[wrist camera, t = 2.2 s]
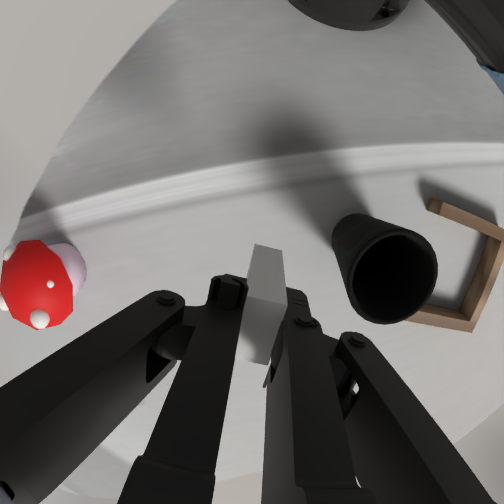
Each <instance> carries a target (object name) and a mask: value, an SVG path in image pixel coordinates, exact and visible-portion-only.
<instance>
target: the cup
mask: <svg viewBox="0 0 504 504" xmlns="http://www.w3.org/2000/svg"><path fill="white" fill-rule="evenodd" d="M332 246H333V249H334V252H335V255H336V259H337V262H338V265H339V268H340V271H341V275H342V278H343V281H344V285H345V288H346V291H347V295H348V298H349V300H350V303H351V306H352V307H353V308H354V310H355V311H356V312H357V314H359V315H360V316H361V317H362V318H364V319H365V320H367V321H370V322H372V323H375V324H384V325H386V324H394V323H398V322H400V321H403V320H406V319H407V318H409V317H411V316H412V315H414V314H415V313H416V312H418V311H419V310H420V309H421V308H422V307H423V306H424V305H425V303H426V302H427V300H428V299H429V298H430V296H431V294H432V292H433V290H434V287H435V284H436V280H437V276H438V263H437V259H436V254H435V252H434V250H433V248H432V246H431V244H430V243H429V242H428V241H427V240H426V239H425V238H424V237H423V236H421V235H420V234H418V233H416V232H414V231H411V230H409V229H406V228H403V227H400V226H397V225H394V224H391V223H388V222H385V221H382V220H379V219H376V218H373V217H369V216H366V215H363V214H351V215H348V216H346V217H344V218H343V219H341V220H340V221H339V222H338V223H337V225H336V227H335V228H334V231H333V234H332Z"/></svg>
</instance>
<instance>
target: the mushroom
mask: <svg viewBox="0 0 504 504" xmlns="http://www.w3.org/2000/svg"><path fill="white" fill-rule="evenodd" d="M3 258H4V260H3V266H2V274H1V282H0V309H2V310H4V311H6V310H9V311H10V313H11V315H12V317H13V318H15V319H16V320H18V321H20V322H22V323H24V324H26V325H28V326H30V327H32V328H34V329H35V330H39V329H43V328H47V327H52V326H56V325H59V324H61V323H62V322H63V321H64V320H65V319H66V318H67V317H68V316H69V315H70V314H71V313H72V312H73V297H74V296H75V294H76V293H77V292H78V290H79V289H80V288H81V286H82V285H83V283H84V281H85V280H86V272H87V270H86V265H85V261H84V259H83V257H82V256H81V254H80V252H79V251H78V250H77V249H76V248H75V247H74V246H72V245H70V244H67V243H59V244H54V245H49V246H46V245H45V244H44V243H43V242H41V241H40V240H32V241H21V242H20V243H19V244H18V245H17V246H16V247H14V246H8V247H7V248H6V249H5V250H4V253H3Z"/></svg>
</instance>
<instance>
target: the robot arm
mask: <svg viewBox="0 0 504 504" xmlns="http://www.w3.org/2000/svg"><path fill="white" fill-rule="evenodd" d="M289 1H290V2H291V3H292V4H293V5H294V6H295V7H296V8H297V9H299V10H300V11H301V12H303V13H304V14H306V15H307V16H309V17H311V18H313V19H315V20H317V21H319V22H321V23H324V24H326V25H329V26H332V27H336V28H340V29H345V30H352V31H368V30H374V29H378V28H381V27H384V26H386V25H388V24H390V23H391V22H392V21H394V20H395V19H396V18H397V17H398V16H399V14H400V13H401V12H402V11H403V10H404V8H405V6H406V5H407V2H408V0H289ZM425 1H426V2H427V3H428V4H429V5H430V6H431V7H432V8H433V9H434V10H435V11H436V12H437V13H438V14H439V15H440V16H441V17H442V18H443V20H444V21H445V22H446V23H447V24H448V25H449V26H450V27H451V28H452V29H453V30H454V32H455V33H456V34H457V35H458V36H459V37H460V39H461V40H462V41H463V42H464V43H465V45H466V46H467V47H468V48H469V49H470V51H471V52H472V53H473V54H474V56H475V57H476V61H477V63H478V64H479V66H480V67H481V68H482V69H483V70H485V71H486V72H487V73H488V74H489V75H490V77H491V78H492V79H493V81H494V82H495V83H496V85H497V86H498V87H499V89H500V90H501V92H502V93H503V94H504V0H425ZM235 358H236V359H240V360H245V361H249V362H254V363H259V364H263V365H268V363H269V361H270V358H271V364H270V367H269V370H268V373H267V376H266V379H265V381H264V384H263V388H265V387H266V385H267V397H266V421H265V443H264V462H263V481H262V498H261V504H497V503H496V502H494V501H493V500H492V498H491V497H490V496H489V494H488V493H487V491H486V490H485V488H484V487H483V486H482V484H481V483H480V481H479V480H478V479H477V477H476V476H475V474H474V473H473V472H472V470H471V469H470V468H469V466H468V465H467V464H466V462H465V461H464V459H463V458H462V457H461V455H460V454H459V453H458V451H457V450H456V449H455V447H454V446H453V444H452V443H451V442H450V440H449V439H448V438H447V436H446V435H445V434H444V433H443V431H442V430H441V429H440V427H439V426H438V425H437V423H436V422H435V421H434V419H433V418H432V417H431V416H430V414H429V413H428V412H427V410H426V409H425V408H424V406H423V405H422V404H421V403H420V401H419V400H418V399H417V397H416V396H415V395H414V394H413V392H412V391H411V390H410V389H409V387H408V386H407V385H406V384H405V382H404V381H403V380H402V379H401V377H400V376H399V375H398V374H397V372H396V371H395V370H394V369H393V367H392V366H391V365H390V364H389V362H388V361H387V360H386V359H385V357H384V356H383V355H382V354H381V352H380V351H379V350H378V349H377V348H376V346H375V345H374V344H373V343H372V342H371V341H370V340H369V339H368V338H367V337H365V336H364V335H363V334H360V333H357V332H344V333H342V334H341V336H340V338H339V340H338V339H335V338H332V337H330V336H327V335H325V334H323V332H322V328H321V325H320V323H319V322H318V321H317V320H316V319H315V318H313V317H311V313H310V308H309V304H308V300H307V296H306V295H305V294H304V293H303V292H302V291H301V290H297V289H292V288H288V287H286V284H285V274H284V265H283V256H282V250H278V249H273V248H269V247H265V246H261V245H257V244H255V245H254V249H253V254H252V258H251V262H250V266H249V270H248V274H247V278H242V277H238V276H234V275H230V274H225V275H219V276H215V277H213V278H212V279H211V284H210V289H209V294H208V299H207V302H206V304H205V305H202V306H185V299H184V298H183V297H182V296H180V295H179V294H177V293H174V292H171V291H168V290H167V291H166V290H160V291H154V292H151V293H149V294H148V295H146V296H144V297H143V298H141V299H139V300H138V301H136V302H135V303H133V304H131V305H130V306H128V307H126V308H125V309H123V310H122V311H120V312H118V313H117V314H115V315H113V316H112V317H110V318H109V319H107V320H105V321H104V322H102V323H101V324H99V325H97V326H96V327H94V328H93V329H91V330H89V331H88V332H86V333H85V334H83V335H82V336H80V337H78V338H77V339H75V340H73V341H72V342H70V343H69V344H67V345H66V346H64V347H62V348H61V349H59V350H58V351H56V352H55V353H53V354H51V355H50V356H48V357H47V358H45V359H44V360H42V361H41V362H39V363H37V364H36V365H34V366H33V367H31V368H30V369H28V370H26V371H25V372H23V373H22V374H20V375H19V376H17V377H15V378H14V379H13V380H11V381H9V382H8V383H6V384H5V385H3V386H2V387H0V504H39V503H40V502H41V501H42V500H43V499H45V498H46V497H47V496H48V495H49V494H50V493H52V491H54V490H55V489H56V488H57V487H58V486H59V485H60V484H61V483H62V482H63V481H64V480H65V479H66V478H67V477H68V476H69V475H70V474H71V473H72V472H73V471H74V470H75V469H76V468H77V467H78V466H79V465H80V464H81V463H82V462H83V461H84V460H85V459H86V458H87V457H88V456H89V455H90V454H91V453H92V452H93V451H94V449H95V448H96V447H97V446H98V445H99V444H100V443H101V442H102V441H103V440H104V439H105V438H106V437H107V436H108V435H109V434H110V433H111V432H112V431H113V430H114V429H115V428H116V427H117V426H118V425H119V424H120V423H121V422H122V421H123V420H124V419H125V418H126V417H127V416H128V415H129V413H130V412H131V411H132V410H133V409H134V408H135V407H136V406H137V405H138V404H139V403H140V402H141V401H142V400H143V399H144V398H145V397H146V396H147V395H148V394H149V393H150V392H151V390H152V389H153V388H154V387H155V386H156V385H157V384H158V383H159V382H160V381H161V380H162V379H163V378H164V377H165V376H166V375H167V374H168V373H169V371H170V370H171V369H172V368H173V367H174V366H175V364H176V363H177V360H182V361H181V363H180V366H179V368H178V371H177V373H176V375H175V378H174V380H173V383H172V385H171V388H170V390H169V392H168V395H167V397H166V400H165V402H164V405H163V407H162V410H161V412H160V415H159V417H158V420H157V422H156V425H155V427H154V430H153V432H152V435H151V437H150V440H149V442H148V445H147V447H146V450H145V452H144V454H143V455H142V456H138V457H137V458H136V459H135V461H134V463H133V465H132V468H131V470H130V472H129V475H128V477H127V480H126V482H125V485H124V487H123V490H122V492H121V495H120V497H119V500H118V503H117V504H212V498H213V491H214V485H215V467H216V462H217V456H218V451H219V445H220V439H221V434H222V428H223V423H224V417H225V411H226V406H227V400H228V394H229V389H230V383H231V377H232V372H233V366H234V361H235ZM356 382H357V384H358V386H359V391H358V392H357V394H355V392H354V391H353V388H354V386H355V384H356ZM355 476H356V477H355ZM356 478H357V480H358V482H359V484H360V486H361V488H360V487H359V486H358V485H357V482H356Z"/></svg>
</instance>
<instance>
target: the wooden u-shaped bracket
mask: <svg viewBox="0 0 504 504" xmlns="http://www.w3.org/2000/svg"><path fill="white" fill-rule="evenodd" d="M427 210H428V211H430V212H433V213H435V214H438V215H440V216H443V217H445V218H448V219H450V220H453V221H455V222H458V223H460V224H463V225H465V226H468V227H470V228H472V229H475V230H477V231H480V232H482V233H484V234H486V235H488V239H487V242H486V245H485V248H484V251H483V254H482V256H481V259H480V262H479V265H478V267H477V270H476V273H475V275H474V278H473V280H472V283H471V285H470V288H469V290H468V292H467V295H466V297H465V299H464V302H463V304H462V306H461V308H460V311H456V310H452V309H447V308H443V307H438V306H434V305H429V304H425V305H424V306H423V307H422V308H421V309H420V310H419V311H418V312H416V313H415V314H414V315H412V316H411V317H409V318H407V319H406V320H405V321H410V322H415V323H420V324H426V325H431V326H437V327H442V328H448V329H453V330H459V331H465V332H471V333H472V331H473V330H474V328H475V325H476V323H477V321H478V319H479V317H480V315H481V313H482V311H483V309H484V306H485V304H486V302H487V300H488V297H489V295H490V293H491V290H492V288H493V285H494V283H495V280H496V278H497V275H498V273H499V270H500V267H501V265H502V262H503V259H504V229H503V228H501V227H499V226H496V225H494V224H492V223H490V222H488V221H486V220H484V219H482V218H479V217H477V216H475V215H473V214H471V213H468V212H466V211H464V210H461V209H459V208H457V207H454V206H452V205H450V204H447V203H445V202H442V201H439V200H436V199H433V198H430V201H429V204H428V208H427Z"/></svg>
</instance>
